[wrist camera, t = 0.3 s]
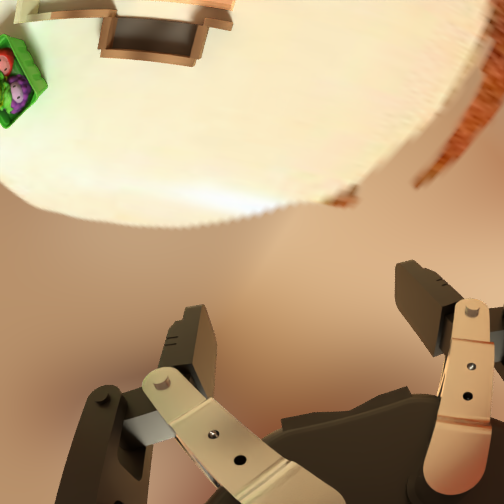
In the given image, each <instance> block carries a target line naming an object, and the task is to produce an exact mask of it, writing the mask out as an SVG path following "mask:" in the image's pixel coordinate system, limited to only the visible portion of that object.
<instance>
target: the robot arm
mask: <svg viewBox="0 0 504 504" xmlns="http://www.w3.org/2000/svg"><path fill="white" fill-rule="evenodd" d="M395 301H396V305H397V307H398V309H399V311H400V312H401V313H402V315H403V316H404V317H405V319H406V320H407V321H408V323H409V324H410V325H411V327H412V328H413V330H414V331H415V332H416V334H417V335H418V336H419V338H420V339H421V341H422V342H423V343H424V345H425V346H426V348H427V349H428V350H429V352H430V353H431V355H432V356H433V357H435V356H438V355H440V354H443V353H444V355H445V360H444V364H443V369H442V374H441V379H440V383H439V388H438V392H437V396H435V395H429V394H411V393H410V391H409V389H408V387H407V386H406V387H403V388H400V389H397V390H394V391H391V392H388V393H385V394H381V395H378V396H376V397H375V398H373V399H371V400H369V401H367V402H365V403H364V404H362V405H360V406H358V407H356V408H354V409H352V410H350V411H341V412H317V413H315V412H314V413H309V414H304V415H299V416H294V417H289V418H284V419H281V423H282V428H281V429H278V430H276V431H274V432H272V433H270V434H269V435H267V436H265V437H264V438H262V439H261V440H260V439H259V438H258V437H257V436H256V435H254V434H253V433H252V432H251V431H250V430H249V429H247V428H246V427H245V426H244V425H243V424H241V423H240V422H239V421H238V420H237V419H236V418H235V417H233V416H232V415H231V414H230V413H229V412H228V411H227V410H226V409H224V408H223V407H222V406H221V405H220V404H219V403H218V402H217V401H216V400H214V399H213V398H214V382H215V369H216V356H217V342H216V337H215V333H214V331H213V328H212V325H211V322H210V319H209V316H208V313H207V310H206V307H205V305H203V304H202V305H196V306H190V307H186V308H185V311H184V315H183V319H182V320H180V321H175V323H174V324H173V325H172V326H171V328H169V330H168V334H167V337H166V340H165V344H164V347H163V351H162V354H161V358H160V361H159V365H158V368H157V369H156V370H154V371H152V372H150V373H149V374H148V375H147V376H146V377H145V379H144V380H143V383H142V387H140V388H138V389H135V390H131V391H128V392H125V393H121V391H120V390H119V388H117V387H116V386H114V385H104V386H101V387H99V388H97V389H96V390H94V391H93V392H92V393H91V394H90V395H89V397H88V398H87V401H86V404H85V407H84V409H83V412H82V415H81V418H80V421H79V424H78V426H77V430H76V432H75V435H74V438H73V441H72V445H71V448H70V451H69V454H68V457H67V461H66V464H65V467H64V471H63V474H62V478H61V482H60V486H59V489H58V493H57V496H56V501H55V504H147V496H148V485H149V477H150V468H151V459H152V451H153V444H155V443H158V442H161V441H165V440H168V439H171V438H175V440H176V441H177V442H178V443H179V445H180V446H181V447H182V448H183V449H184V451H185V452H186V453H187V454H188V456H189V457H190V458H191V459H192V460H193V461H194V463H195V464H196V465H197V466H198V467H199V468H200V470H201V471H202V472H203V473H204V474H205V475H206V477H207V478H208V479H209V480H210V481H211V483H212V484H213V485H214V486H215V487H216V488H217V490H216V492H215V493H214V494H213V495H212V496H211V497H210V498H209V500H208V501H207V502H206V503H205V504H504V422H502V421H499V420H497V419H494V418H491V417H490V416H491V406H492V396H493V381H494V368H495V369H496V370H497V372H498V373H499V375H500V376H501V378H502V379H503V381H504V306H503V307H498V308H488V306H487V305H486V304H485V303H484V302H482V301H480V300H478V299H473V298H467V299H464V298H463V297H462V296H461V295H460V294H459V293H458V292H457V291H456V290H455V289H453V288H452V287H451V286H450V285H448V283H447V282H446V281H445V280H443V279H442V278H441V277H440V276H439V275H438V274H437V273H436V272H434V271H431V270H429V269H427V268H424V269H423V268H422V267H421V266H420V265H419V264H418V263H416V261H414V260H409V261H405V262H401V263H398V264H396V267H395Z"/></svg>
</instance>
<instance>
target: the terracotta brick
mask: <svg viewBox="0 0 504 504" xmlns="http://www.w3.org/2000/svg"><path fill="white" fill-rule="evenodd" d="M152 1H165V2H176V3H185V4H193V5H200V6H207V7H213V8H219V9H224V10H230V11H233V8H234V5H235V1H236V0H152Z"/></svg>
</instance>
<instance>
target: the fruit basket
mask: <svg viewBox="0 0 504 504" xmlns="http://www.w3.org/2000/svg"><path fill="white" fill-rule="evenodd" d="M47 87H48V85H47V84H46V82H45V80H44V79H43V78H42V77H41V73H40V71H39V69H38V68H37V66H36V65H35V64H34V61H33V58H32V56H31V55H30V53H29V52H28V51H27V47H26V45H25V43H24V41H23V40H20V39H16V38H13V37H10V36H9V35H6V34H2V35H0V124H1V125H2V127H3V128H5V129H7V128H9V127H10V126H11V125H12V124H13V123H14V122H15V121H16V120H17V119H18V118H19V117H20V116H21V115H22V114H23V113H24V112H25V111H26V110H27V109H28V108H29V107H30V106H31V105H32V104H34V103H35V102H36V100H37V99H38V97H39V96H40V95H41V94H42V93H43V92H44V91H45V90H46V89H47Z"/></svg>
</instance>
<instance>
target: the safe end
mask: <svg viewBox="0 0 504 504" xmlns="http://www.w3.org/2000/svg"><path fill="white" fill-rule="evenodd" d="M39 4H40V0H18V1H17V6H16V11H15V17H14V23H13V24H17V23H26V18H27V15H31V14H38V9H39Z"/></svg>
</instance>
